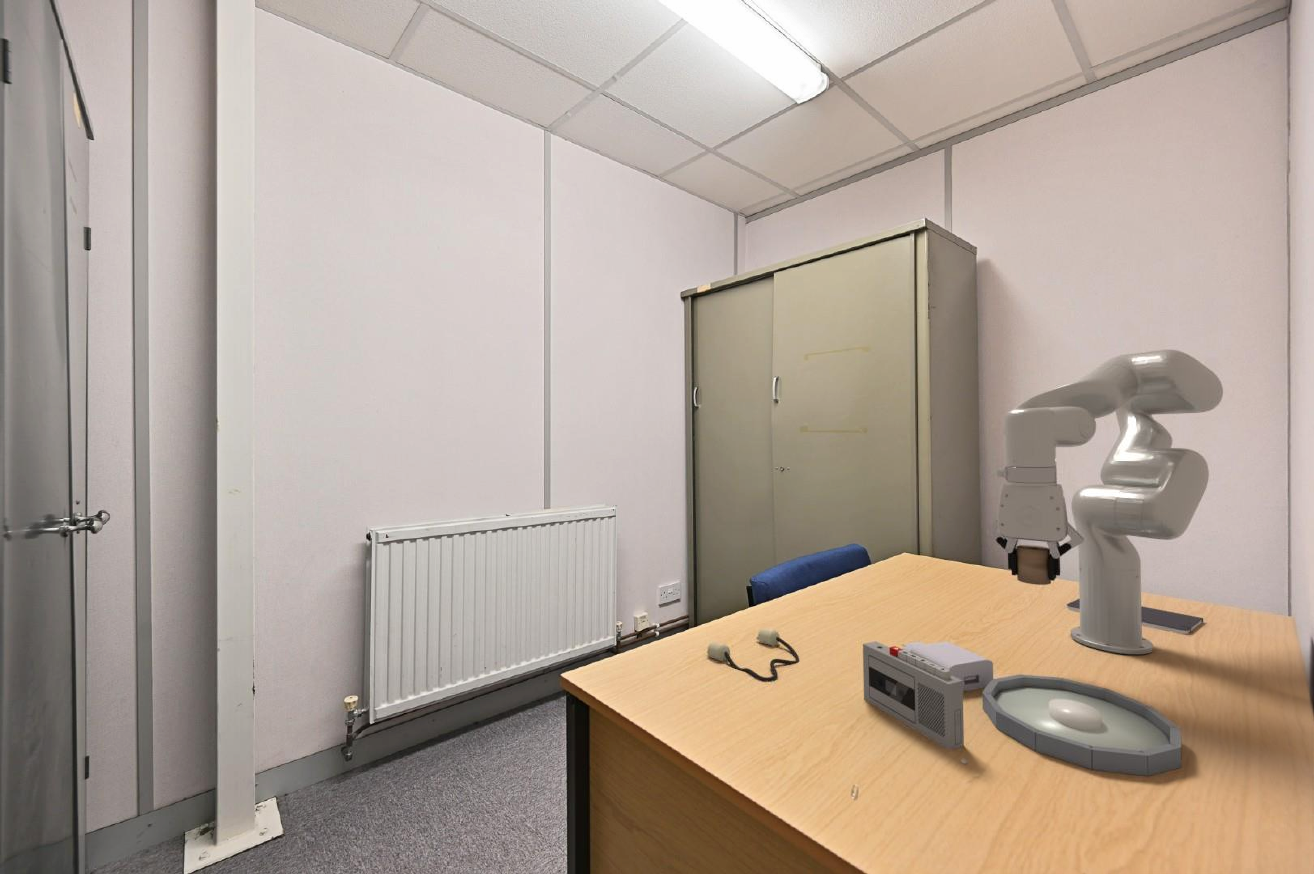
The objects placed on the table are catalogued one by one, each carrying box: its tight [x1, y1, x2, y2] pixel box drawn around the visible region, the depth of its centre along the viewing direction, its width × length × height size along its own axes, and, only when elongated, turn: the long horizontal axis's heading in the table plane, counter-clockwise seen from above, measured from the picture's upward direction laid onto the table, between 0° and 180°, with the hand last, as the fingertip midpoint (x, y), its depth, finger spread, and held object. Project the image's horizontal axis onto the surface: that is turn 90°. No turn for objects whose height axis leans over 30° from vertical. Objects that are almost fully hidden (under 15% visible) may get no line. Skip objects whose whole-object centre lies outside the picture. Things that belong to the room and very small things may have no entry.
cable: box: [706, 627, 800, 682], centre depth 103 cm, size 16×16×4 cm
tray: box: [981, 673, 1182, 777], centre depth 78 cm, size 22×22×2 cm
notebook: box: [1066, 597, 1204, 635], centre depth 124 cm, size 13×2×21 cm
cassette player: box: [862, 641, 965, 751], centre depth 80 cm, size 16×3×10 cm, turn 23°
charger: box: [901, 641, 994, 692], centre depth 96 cm, size 5×9×15 cm
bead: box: [1016, 544, 1052, 586], centre depth 98 cm, size 5×5×6 cm
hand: (1033, 575), depth 98 cm, fingers closed on bead, 4 cm apart
